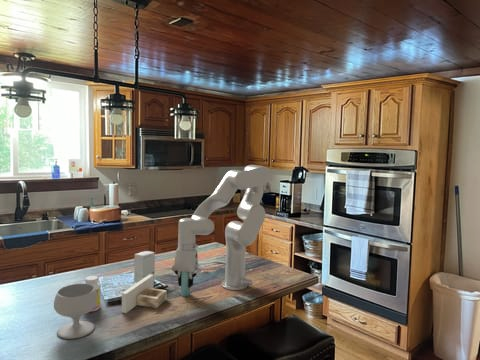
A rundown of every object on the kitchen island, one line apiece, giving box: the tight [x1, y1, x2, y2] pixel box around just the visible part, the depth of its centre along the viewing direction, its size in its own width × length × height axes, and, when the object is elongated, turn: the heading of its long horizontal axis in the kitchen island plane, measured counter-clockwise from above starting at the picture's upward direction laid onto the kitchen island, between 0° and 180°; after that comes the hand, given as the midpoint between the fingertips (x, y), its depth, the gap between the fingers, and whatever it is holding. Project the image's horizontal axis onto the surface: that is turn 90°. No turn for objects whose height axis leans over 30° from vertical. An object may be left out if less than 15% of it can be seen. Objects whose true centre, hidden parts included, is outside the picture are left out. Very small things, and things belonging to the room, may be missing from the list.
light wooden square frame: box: [136, 287, 168, 309], centre depth 149 cm, size 9×9×4 cm
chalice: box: [53, 283, 98, 340], centre depth 125 cm, size 14×14×15 cm
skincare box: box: [133, 250, 156, 283], centre depth 170 cm, size 8×6×15 cm
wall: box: [121, 274, 155, 314], centre depth 150 cm, size 2×22×8 cm, turn 166°
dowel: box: [180, 271, 191, 298], centre depth 158 cm, size 4×4×12 cm
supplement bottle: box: [84, 275, 101, 313], centre depth 142 cm, size 7×7×13 cm
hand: (185, 285), depth 158 cm, fingers closed on dowel, 4 cm apart
